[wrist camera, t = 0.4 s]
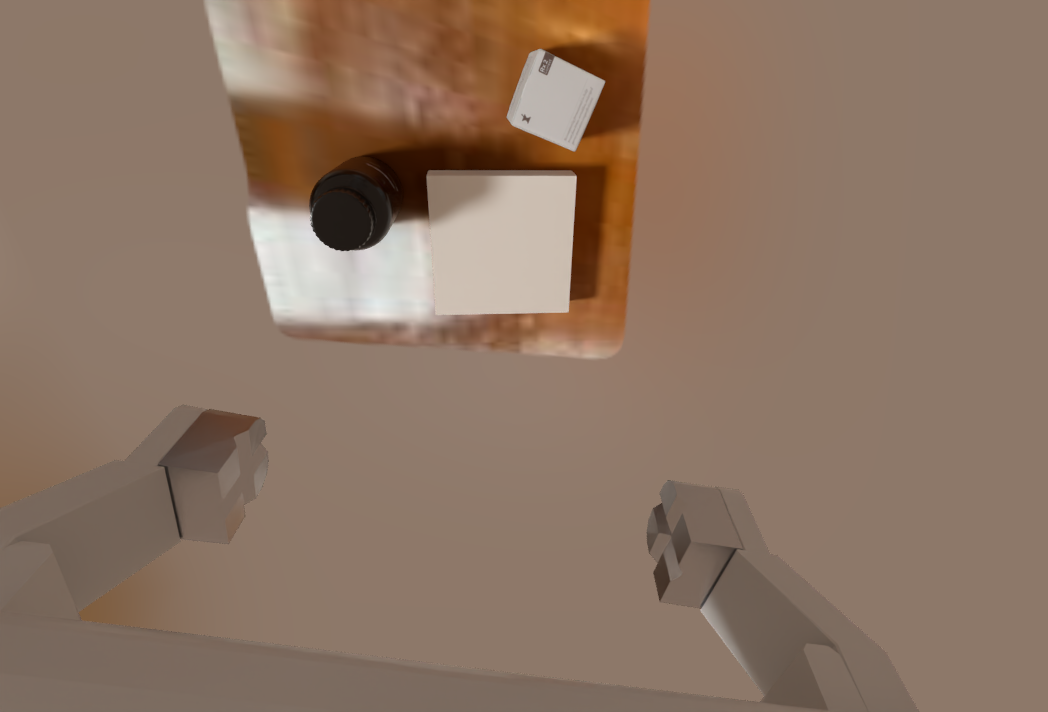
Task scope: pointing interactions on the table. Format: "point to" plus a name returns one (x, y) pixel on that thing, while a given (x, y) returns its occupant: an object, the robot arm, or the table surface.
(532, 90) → the skincare box
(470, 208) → the stand
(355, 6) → the table surface
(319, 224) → the supplement bottle
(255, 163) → the table surface
